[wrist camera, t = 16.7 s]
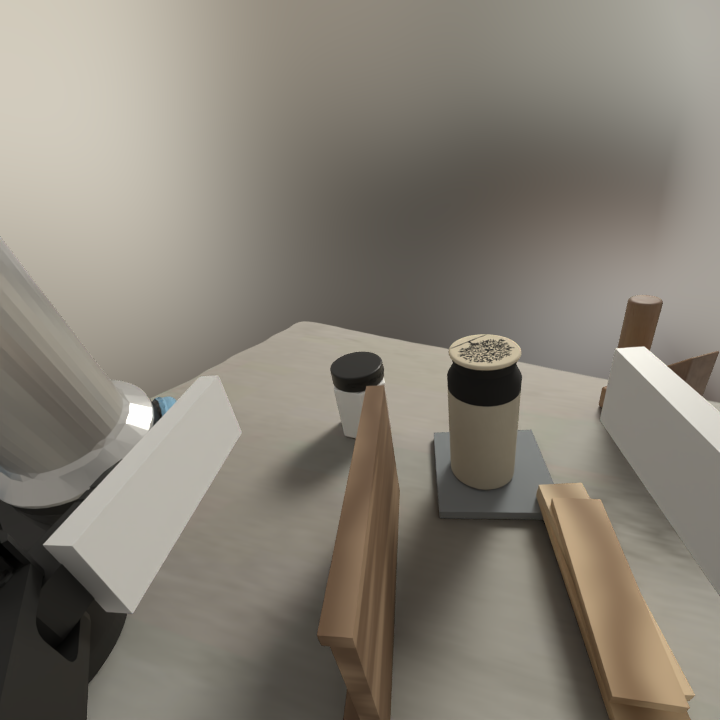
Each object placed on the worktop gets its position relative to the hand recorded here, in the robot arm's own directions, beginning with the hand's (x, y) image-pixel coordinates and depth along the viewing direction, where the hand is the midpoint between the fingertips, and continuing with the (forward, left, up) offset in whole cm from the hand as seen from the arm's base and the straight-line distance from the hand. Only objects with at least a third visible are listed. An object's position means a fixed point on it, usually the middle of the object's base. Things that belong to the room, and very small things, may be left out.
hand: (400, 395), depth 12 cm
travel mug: (+7, +26, -31) cm, 41 cm away
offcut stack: (+15, +11, -31) cm, 36 cm away
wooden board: (-5, +11, -32) cm, 34 cm away
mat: (+8, +26, -32) cm, 42 cm away
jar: (-10, +37, -32) cm, 50 cm away
